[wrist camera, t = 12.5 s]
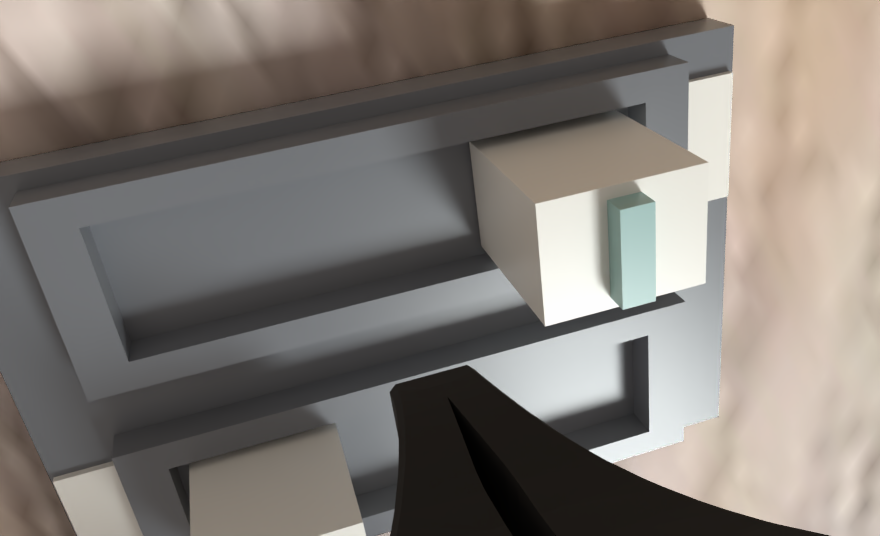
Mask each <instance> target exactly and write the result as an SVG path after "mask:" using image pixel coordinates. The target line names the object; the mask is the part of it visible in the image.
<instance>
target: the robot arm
mask: <svg viewBox="0 0 880 536" xmlns="http://www.w3.org/2000/svg"><path fill="white" fill-rule="evenodd" d="M390 397H391V402H392V407H393V412H394V417H395V423H396V428H397V433H398V438H399V463H398V480H397V490H396V500H395V509H394V516H393V522H392V528H391V534H390V536H829V535H824V534H820V533H815V532H811V531H806V530H802V529H797V528H792V527H788V526H783V525H779V524H774V523H770V522H767V521H763V520H759V519H756V518H753V517H749V516H746V515H742V514H739V513H735V512H732V511H728V510H725V509H722V508H719V507H716V506H713V505H710V504H707V503H704V502H701V501H698V500H696V499H693V498H691V497H688V496H685V495H683V494H680V493H678V492H675V491H672V490H670V489H667V488H665V487H662V486H660V485H657V484H655V483H653V482H650V481H648V480H646V479H644V478H641V477H639V476H637V475H635V474H633V473H631V472H629V471H627V470H625V469H623V468H621V467H619V466H617V465H614V464H612V463H610V462H608V461H606V460H605V459H603V458H601V457H599V456H597V455H596V454H594V453H592V452H590V451H589V450H587V449H585V448H584V447H582V446H580V445H579V444H577V443H575V442H574V441H572V440H570V439H569V438H567V437H566V436H564V435H563V434H561V433H560V432H558V431H556V430H555V429H553V428H552V427H551V426H549V425H548V424H546V423H545V422H543V421H542V420H540V419H539V418H537V417H536V416H534V415H533V414H532V413H530V412H529V411H527V410H526V409H525V408H523V407H522V406H520V405H519V404H518V403H516V402H515V401H514V400H512V399H511V398H510V397H509V396H507V395H506V394H505V393H503V392H502V391H501V390H499V389H498V388H497V387H496V386H494V385H493V384H492V383H491V382H489V381H488V380H487V379H486V378H484V377H483V376H482V375H481V374H479V373H478V372H477V371H476V370H475V369H473V368H472V367H470V366H468V365H464V366H460V367H457V368H453V369H450V370H446V371H442V372H439V373H435V374H431V375H428V376H424V377H420V378H417V379H413V380H409V381H406V382H402V383H398V384H395V385H394V387H393V388H392V389H391V391H390Z"/></svg>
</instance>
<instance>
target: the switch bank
mask: <svg viewBox="0 0 880 536" xmlns="http://www.w3.org/2000/svg"><path fill="white" fill-rule="evenodd" d="M733 34H734V25H731V24H727V23H724V22H720V21H717V20H713V19H710V18H706V19H702V20H697V21H692V22H687V23H682V24H677V25H672V26H667V27H662V28H657V29H652V30H647V31H643V32H638V33H633V34H628V35H623V36H618V37H613V38H608V39H603V40H598V41H593V42H589V43H584V44H579V45H574V46H569V47H564V48H559V49H554V50H549V51H544V52H539V53H534V54H530V55H525V56H520V57H515V58H510V59H505V60H500V61H495V62H490V63H485V64H480V65H475V66H471V67H466V68H461V69H456V70H451V71H446V72H441V73H436V74H431V75H426V76H421V77H416V78H412V79H407V80H402V81H397V82H392V83H387V84H382V85H377V86H372V87H367V88H362V89H358V90H353V91H348V92H343V93H338V94H333V95H328V96H323V97H318V98H313V99H308V100H303V101H299V102H294V103H289V104H284V105H279V106H274V107H269V108H264V109H259V110H254V111H249V112H244V113H240V114H235V115H230V116H225V117H220V118H215V119H210V120H205V121H200V122H195V123H190V124H185V125H181V126H176V127H171V128H166V129H161V130H156V131H151V132H146V133H141V134H136V135H131V136H126V137H122V138H117V139H112V140H107V141H102V142H97V143H92V144H87V145H82V146H77V147H72V148H68V149H63V150H58V151H53V152H48V153H43V154H38V155H33V156H28V157H23V158H18V159H13V160H9V161H4V162H0V372H1V374H2V376H3V378H4V381H5V383H6V385H7V387H8V389H9V391H10V393H11V396H12V398H13V400H14V402H15V404H16V406H17V409H18V411H19V413H20V415H21V417H22V419H23V422H24V424H25V426H26V428H27V430H28V432H29V435H30V437H31V439H32V441H33V443H34V445H35V448H36V450H37V452H38V454H39V456H40V458H41V460H42V463H43V465H44V467H45V469H46V471H47V473H48V476H49V478H50V480H51V482H52V484H53V486H54V489H55V491H56V493H57V495H58V497H59V499H60V502H61V504H62V506H63V508H64V510H65V512H66V515H67V517H68V519H69V521H70V523H71V525H72V527H73V530H74V532H75V534H76V536H190V485H189V463H192V462H196V461H200V460H203V459H207V458H210V457H214V456H217V455H221V454H225V453H228V452H232V451H235V450H239V449H243V448H246V447H250V446H253V445H257V444H260V443H264V442H268V441H271V440H275V439H278V438H282V437H286V436H289V435H293V434H296V433H300V432H303V431H307V430H311V429H314V428H318V427H321V426H325V425H329V424H332V423H335V424H336V427H337V431H338V434H339V438H340V442H341V445H342V449H343V452H344V456H345V460H346V463H347V467H348V470H349V474H350V477H351V481H352V485H353V488H354V492H355V495H356V499H357V503H358V506H359V510H360V513H361V517H362V521H363V524H364V529H365V533H366V536H377V535H380V534H383V533H386V532H390V531H391V528H392V522H393V516H394V509H395V500H396V490H397V480H398V463H399V438H398V433H397V428H396V423H395V417H394V412H393V407H392V402H391V397H390V391H391V389H392V388H393V387H394V385H395V384H398V383H402V382H406V381H409V380H413V379H417V378H420V377H424V376H428V375H431V374H435V373H439V372H442V371H446V370H450V369H453V368H457V367H460V366H464V365H468V366H470V367H472V368H473V369H475V370H476V371H477V372H478V373H479V374H481V375H482V376H483V377H484V378H486V379H487V380H488V381H489V382H491V383H492V384H493V385H494V386H496V387H497V388H498V389H499V390H501V391H502V392H503V393H505V394H506V395H507V396H509V397H510V398H511V399H512V400H514V401H515V402H516V403H518V404H519V405H520V406H522V407H523V408H525V409H526V410H527V411H529V412H530V413H532V414H533V415H534V416H536V417H537V418H539V419H540V420H542V421H543V422H545V423H546V424H548V425H549V426H551V427H552V428H553V429H555V430H556V431H558V432H560V433H561V434H563V435H564V436H566V437H567V438H569V439H570V440H572V441H574V442H575V443H577V444H579V445H580V446H582V447H584V448H585V449H587V450H589V451H590V452H592V453H594V454H596V455H597V456H599V457H601V458H603V459H605V460H606V461H608V462H610V463H614V462H617V461H620V460H623V459H627V458H630V457H633V456H636V455H640V454H643V453H646V452H649V451H653V450H656V449H659V448H662V447H666V446H669V445H672V444H675V443H679V442H682V441H684V427H686V426H689V425H693V424H696V423H699V422H702V421H706V420H709V419H712V418H716V417H719V392H720V367H721V341H722V315H723V290H724V264H725V239H726V213H727V196H728V189H729V163H730V138H731V113H732V88H733V73H732V60H733ZM611 110H616V111H618V112H620V113H622V114H624V115H625V116H627V117H629V118H631V119H632V120H634V121H636V122H638V123H640V124H641V125H643V126H645V127H647V128H649V129H650V130H652V131H654V132H656V133H657V134H659V135H661V136H663V137H665V138H666V139H668V140H670V141H672V142H673V143H675V144H677V145H679V146H681V147H682V148H684V149H686V150H688V151H690V152H691V153H693V154H695V155H697V156H698V157H700V158H702V159H704V160H706V161H707V162H709V176H708V213H707V250H706V283H705V284H701V285H697V286H694V287H690V288H686V289H683V290H679V291H675V292H671V293H668V294H664V295H660V296H657V297H656V301H654V302H650V303H647V304H643V305H639V306H636V307H632V308H628V309H625V310H622V309H621V308H620V307H616V308H612V309H609V310H605V311H601V312H597V313H594V314H590V315H586V316H583V317H579V318H575V319H571V320H568V321H564V322H560V323H557V324H553V325H549V326H546V327H545V326H544V325H543V323H542V322H541V321H540V319H539V318H538V317H537V316H536V314H535V313H534V312H533V311H532V309H531V308H530V307H529V306H528V304H527V303H526V302H525V301H524V299H523V298H522V297H521V295H520V294H519V293H518V292H517V290H516V289H515V288H514V287H513V285H512V284H511V283H510V282H509V280H508V279H507V278H506V277H505V275H504V274H503V273H502V272H501V270H500V269H499V268H498V266H497V265H496V264H495V263H494V261H493V260H492V259H491V258H490V256H489V255H488V254H487V253H486V251H485V250H484V249H483V248H482V246H481V239H480V231H479V222H478V214H477V205H476V197H475V188H474V180H473V171H472V163H471V154H470V146H469V142H471V141H476V140H480V139H485V138H489V137H494V136H498V135H503V134H507V133H512V132H516V131H521V130H525V129H530V128H534V127H539V126H544V125H548V124H553V123H557V122H562V121H566V120H571V119H575V118H580V117H584V116H589V115H593V114H598V113H602V112H607V111H611Z"/></svg>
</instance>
